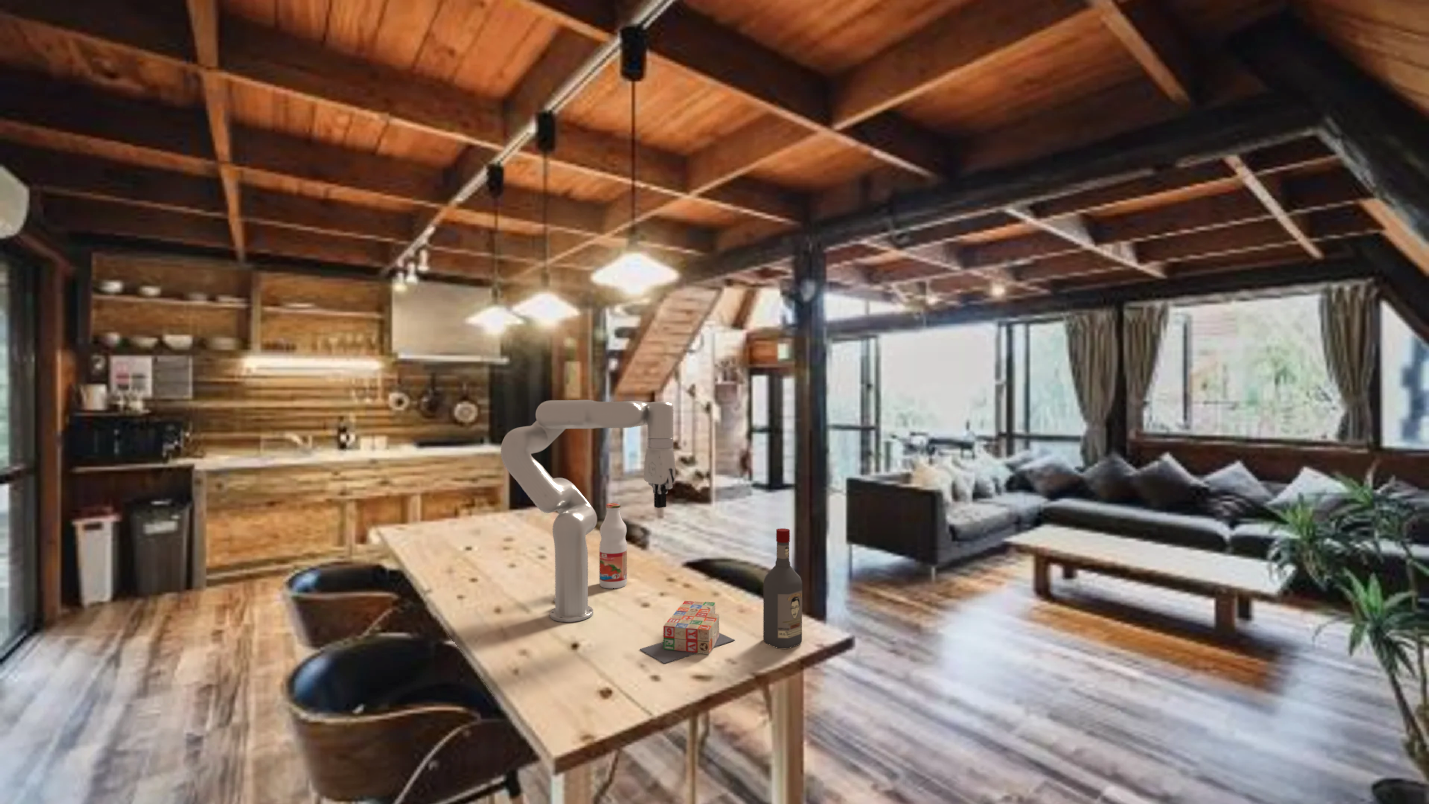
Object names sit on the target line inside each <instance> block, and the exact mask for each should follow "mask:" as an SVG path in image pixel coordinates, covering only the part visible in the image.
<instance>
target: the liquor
mask: <svg viewBox="0 0 1429 804" xmlns="http://www.w3.org/2000/svg"><path fill="white" fill-rule="evenodd" d="M790 532H791V531H790V529H789V528H785V527H784V528H781V527H780V528H776V533H775V535H776V536H775V537H776V538H775V541H776V558H775V559H776V561H775V562H774V563H775V565H774V566H773V567H772V568H771V569H770V570H769V571H768V573H767V574H765V576H764V578H763V599H762V600H763V601H762V602H763V608H762V610H763V617H762V618H763V619H762V620H763V623H762V626H763V627H762V630H763V631H762V634H763V636H762V637H763V638H762V639H763V641H764V643H765V644H767V645H769V644H770V645H769V646H771V647H773V646H774V648H776V647H777V648H776V649H778V648H789V649H791V648H794V647H796V645H797V646H799V645H801V643H802V642H803V580H802V577H801V576H800V575H799V574H798V573H797V571H795V569H794V568H793V567H792V565H791V562H790V541H791V540H790V539H791V536H790V535H791V533H790ZM798 644H799V645H798ZM790 647H791V648H790Z"/></svg>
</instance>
